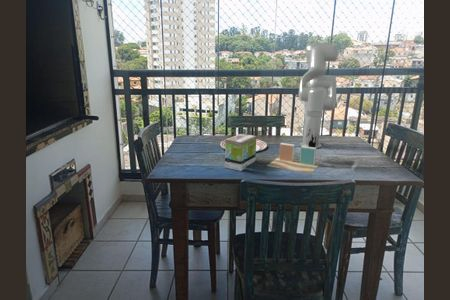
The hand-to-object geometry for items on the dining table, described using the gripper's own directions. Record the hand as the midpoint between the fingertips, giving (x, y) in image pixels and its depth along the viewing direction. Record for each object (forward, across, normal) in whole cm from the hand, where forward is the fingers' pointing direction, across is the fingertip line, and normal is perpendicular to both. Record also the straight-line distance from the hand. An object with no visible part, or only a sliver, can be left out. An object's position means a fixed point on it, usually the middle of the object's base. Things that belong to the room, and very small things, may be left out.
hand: (311, 149), depth 166 cm
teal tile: (+6, +6, 0) cm, 9 cm away
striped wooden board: (+7, +11, -6) cm, 14 cm away
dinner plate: (+7, -5, -42) cm, 42 cm away
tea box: (+7, +22, -30) cm, 38 cm away
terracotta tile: (+6, +6, -11) cm, 14 cm away
